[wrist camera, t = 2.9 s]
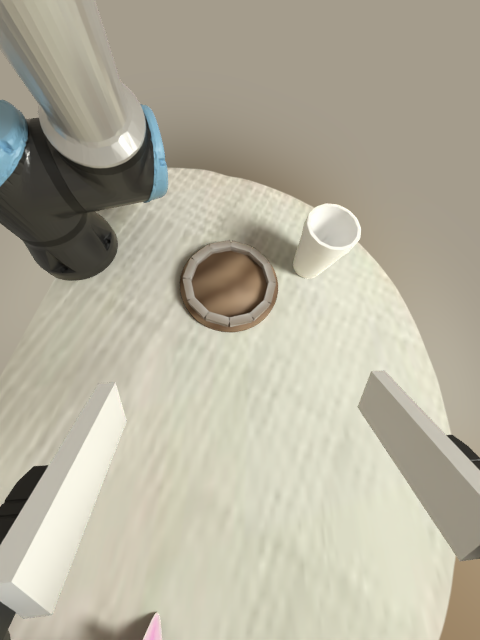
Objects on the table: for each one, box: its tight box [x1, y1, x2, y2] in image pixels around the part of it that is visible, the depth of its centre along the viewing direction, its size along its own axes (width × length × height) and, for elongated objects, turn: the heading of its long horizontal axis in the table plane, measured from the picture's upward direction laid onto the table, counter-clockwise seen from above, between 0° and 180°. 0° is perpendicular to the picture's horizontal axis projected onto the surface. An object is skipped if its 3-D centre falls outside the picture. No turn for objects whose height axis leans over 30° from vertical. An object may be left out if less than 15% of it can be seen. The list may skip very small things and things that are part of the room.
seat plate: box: [180, 240, 278, 332], centre depth 48 cm, size 20×20×2 cm
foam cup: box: [293, 204, 361, 279], centre depth 46 cm, size 10×9×13 cm
